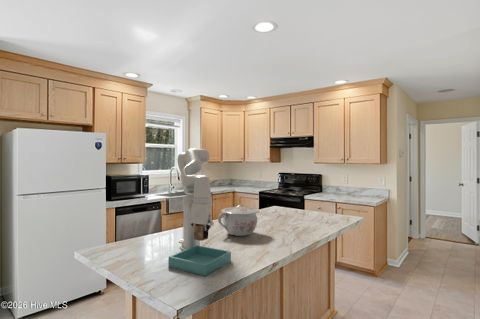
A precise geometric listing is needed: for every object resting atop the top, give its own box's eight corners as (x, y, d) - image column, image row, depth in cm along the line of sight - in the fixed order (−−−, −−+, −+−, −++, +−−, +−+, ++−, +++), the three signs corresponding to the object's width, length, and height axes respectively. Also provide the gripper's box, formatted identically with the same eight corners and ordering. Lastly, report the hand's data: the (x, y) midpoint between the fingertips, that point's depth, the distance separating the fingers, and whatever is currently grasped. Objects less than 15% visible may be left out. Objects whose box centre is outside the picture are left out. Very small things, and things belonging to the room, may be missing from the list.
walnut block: (193, 239, 142) (194, 225, 142) (199, 237, 146) (200, 223, 147) (202, 240, 140) (202, 226, 140) (208, 238, 144) (208, 224, 144)
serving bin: (168, 267, 139) (168, 256, 139) (196, 254, 158) (196, 245, 158) (205, 276, 128) (205, 265, 128) (230, 261, 148) (230, 251, 148)
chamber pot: (260, 230, 216) (260, 202, 216) (258, 240, 188) (259, 208, 188) (223, 228, 218) (223, 201, 218) (216, 238, 191) (217, 207, 191)
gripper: (183, 200, 144) (182, 236, 144) (211, 202, 136) (210, 241, 136) (192, 198, 151) (192, 233, 150) (219, 201, 142) (219, 238, 142)
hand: (201, 237), depth 143 cm, fingers closed on walnut block, 5 cm apart
